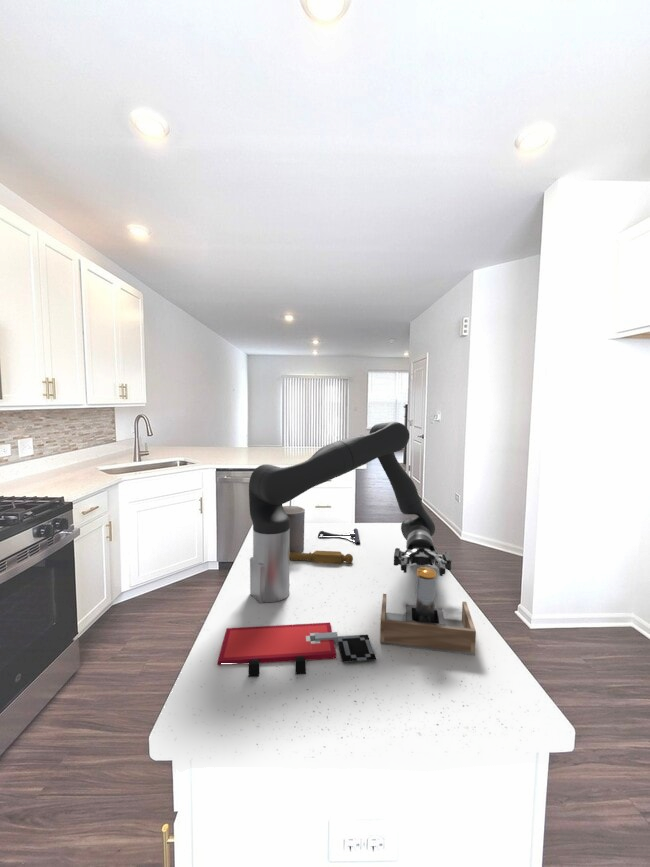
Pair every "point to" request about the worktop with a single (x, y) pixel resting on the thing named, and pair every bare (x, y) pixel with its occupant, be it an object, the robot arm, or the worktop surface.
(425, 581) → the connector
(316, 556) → the tap handle
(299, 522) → the pillar candle
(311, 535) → the worktop surface
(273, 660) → the red board with handle
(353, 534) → the bracket
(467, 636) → the socket box
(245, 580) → the worktop surface
